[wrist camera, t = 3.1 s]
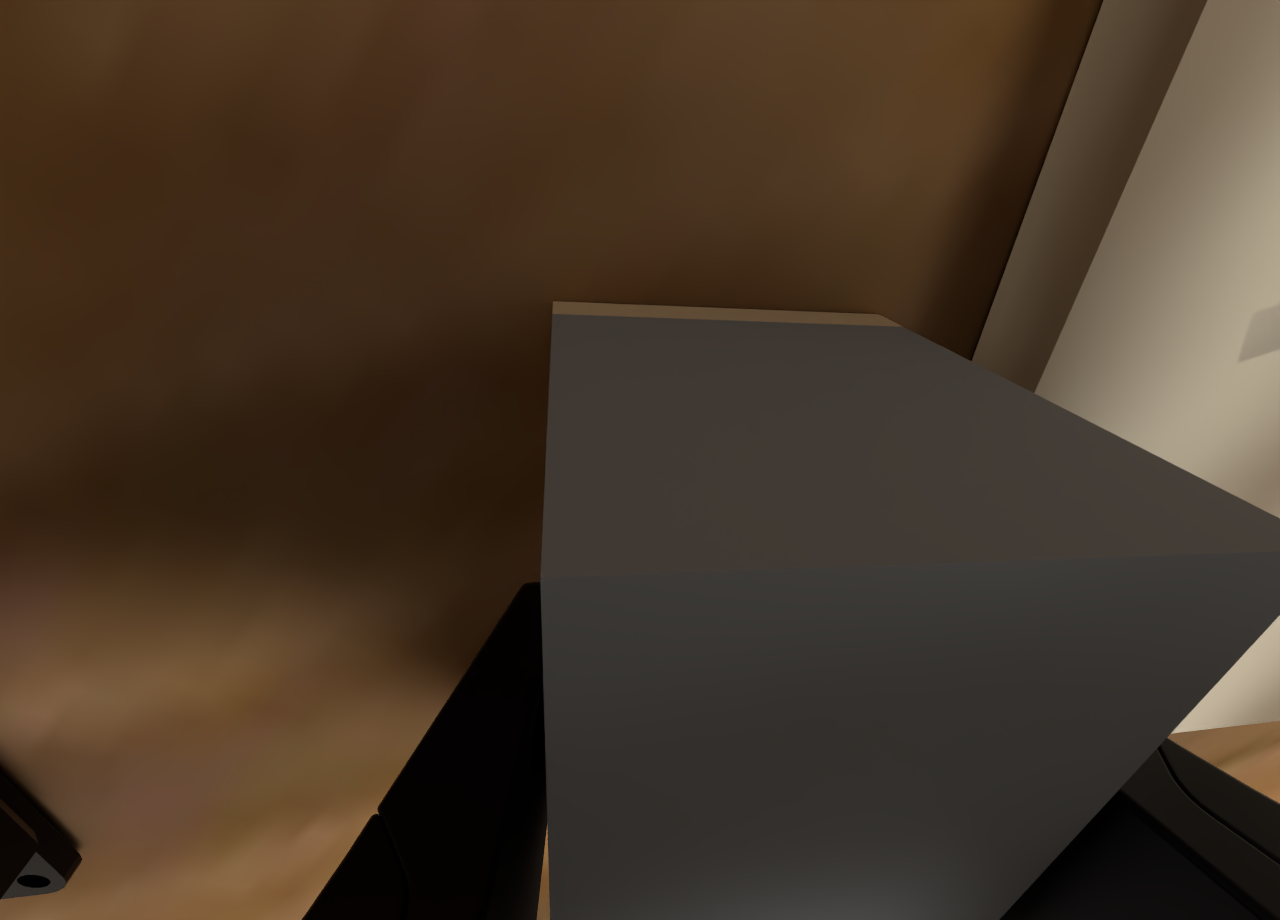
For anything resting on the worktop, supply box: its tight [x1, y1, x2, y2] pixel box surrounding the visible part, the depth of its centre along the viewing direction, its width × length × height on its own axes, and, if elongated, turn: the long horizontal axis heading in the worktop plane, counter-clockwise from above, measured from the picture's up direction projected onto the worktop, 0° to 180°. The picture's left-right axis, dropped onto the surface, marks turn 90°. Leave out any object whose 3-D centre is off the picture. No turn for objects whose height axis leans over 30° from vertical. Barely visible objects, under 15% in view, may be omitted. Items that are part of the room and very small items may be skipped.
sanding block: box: [540, 301, 1280, 920], centre depth 7 cm, size 4×8×5 cm, turn 176°
